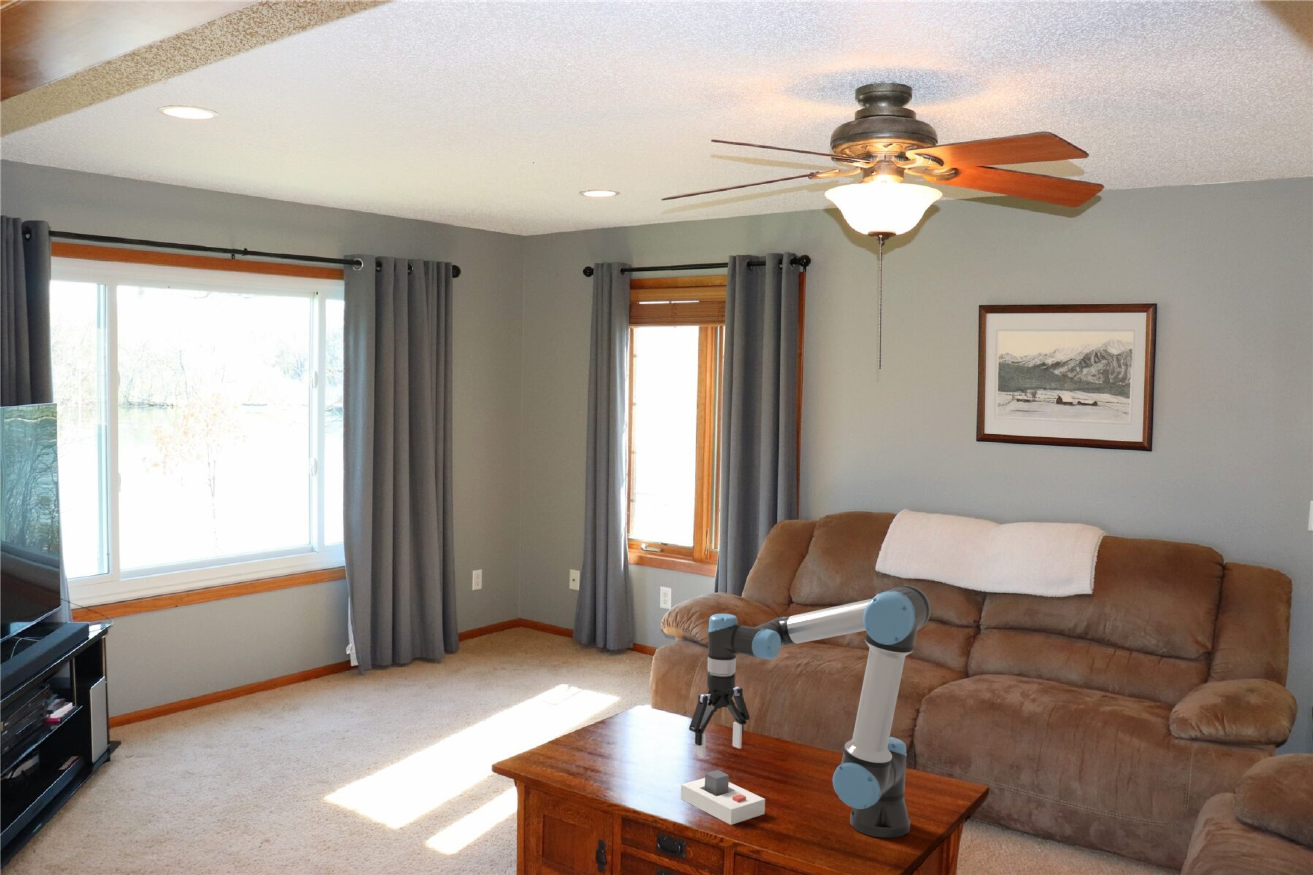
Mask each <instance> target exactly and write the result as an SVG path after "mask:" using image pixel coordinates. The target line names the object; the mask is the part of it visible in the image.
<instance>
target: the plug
mask: <svg viewBox="0 0 1313 875" xmlns="http://www.w3.org/2000/svg"><path fill="white" fill-rule="evenodd" d="M704 778H705V791H707V792H709V793H711V794H713V795H715V796H720V795H723V794H726V793H728V784H729V782H730V780H729V778H730V777H729V773H728V774H727V773H725V772H724V771H721V770H719V769H716V770H712V771H709V772H705V773H704Z"/></svg>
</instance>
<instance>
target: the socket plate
mask: <svg viewBox="0 0 1313 875" xmlns="http://www.w3.org/2000/svg"><path fill="white" fill-rule="evenodd" d="M680 799H681V800H682V801H684V802H686V803H687V804H690V805H692V806H694V807H695V808H697V809H699V810H701V811H703V812H705V813H708V814H709V815H711V816H713V817H715V818H717V819H719V820H720V821H723V822H724V823H726V824H728V825H731V826H732V825H734V824H737V823H741V822H744V821H747V820H750V819H752V818H753V819H754V818H756V817H759V816H762V815H765V812H766V811H765V810H766V806H765V805H766V798H763V797H762V796H760V795H757V794H756V793H753V792H751V791H749V790H747V789H746V788H742V787H740V786H738V785H736V784H734V783H732V782H730V781H729V784H728V793H726V794H723V795H720V796H715V795H713V794H711V793H709V792H707V791H705V777H703V778H700V779H696V780H695V779H694V780H693V781H689V782H685V783H681V786H680Z"/></svg>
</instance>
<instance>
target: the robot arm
mask: <svg viewBox="0 0 1313 875" xmlns="http://www.w3.org/2000/svg"><path fill="white" fill-rule="evenodd" d="M930 603H931V602H930V600H929V598H928V596H927V594H925V592H924V591H922V590H921V589H920V588H918V587H916V586H913V585H910V584H909V585H908V584H904V585H903V584H902V585H899V586H896V587H894V588H891V589H889V590H887V591H886V590H885V591H883V592H879V593H877V594H876V595H875V596H874V597H873V598H869V599H865V600H860V601H854V602H851V603H850V602H849V603H845V604H841V605H836V606H832V607H827V608H823V609H822V608H821V609H818V610H813V611H809V612H803V613H799V614H794V615H791V616H779V617H776V618H773V619H771V620H770V621H767V622H764V623H761V624H760V625H757V626H754V627H753V626H748V625H747V626H746V625H741V624H738V623H739V622H738V618H737V616H736V615H733V614H731V613H715V614H712V615H711V616H710V617H709V620H708V621H709V623H708V630H707V633H708V634H707V635H708V638H707V639H708V642H707V643H708V645H707V648H708V649H707V650H708V652H707V673H706V685H707V688H708V690H707V691H708V692H707V694H703V693H699V694H698V698H697V704H696V707H695V710H694V713H693V715H692V718H691V721H690V724H689V727H688V730H689V731H691V732H692V733H695V734H694V736H695V737H694V743H695V745H696V752H695V753H696V755H695V756H697V757H699V758H701V759H706V744H707V743H706V740H707V738H706V737H707V736H706V735H707V734H706V733H705V730H706V728H707V727H708V724H709V723H710V721H711V719H712V717H713V715H714V713H716V712H717V711H718V709H722V708H727V710H728V712H729V713H730V714H731V715H732V717H733V718H734V720H735V721H734V722H732V723H733V724H732V747H734V748H737V749H742V735H743V734H744V725H746V724H747V723H748V722H747V721H750V713H749V710H748V708H747V705H746V702H745V698H744V695H743V692H744V691H743V688H741V687H739V686H736V666H737V664H736V662H737V655H743V656H748V657H752V658H757V659H760V660H764V659H765V660H774V659H775V658H776V657H777V656H778V655H779V653H780V650H781V648H784V647H789V646H793V645H796V644H802V643H807V642H813V641H817V640H823V639H828V638H834V637H838V636H844V635H848V634H855V633H858V632H859V633H861V632H864V631H866V632H865V638H864V642H865V643H866V645H867V646H868V647H869V650H868V655H867V662H866V667H865V670H864V676H863V682H862V688H861V692H860V697H859V698H860V699H859V703H858V706H857V707H858V708H857V713H856V718H855V723H854V724H855V725H854V729H853V730H854V731H853V734H852V739H850V740H849V741H846V742H845V744H844V748H843V752H842V758H841V763H840V764H839V765H838V766H837V767H836V769H835V771H834V772H833V776H832V786H833V790H834V792H835V794H836V795H837V796H838V798H839V800H841V802H843V804H845V805H846V806H848V807H851V808H852V809H851V811H850V817H849V819H850V820H849V822H850V825H851V827H852V828H853V829H854V830H856V831H857V832H859V833H862V834H864V835H867V836H871V837H876V838H882V839H883V838H885V839H891V838H894V839H895V838H900V837H903V836H905V834H906V835H907V834H909V832H910V830H911V819H910V816H909V814H908V809H907V805H906V804H907V803H906V801H905V787H906V786H905V784H906V770H907V769H906V768H907V767H906V765H907V756H908V754H907V745H906V743H905V742H904V741H903V740H901V739H900V738H896V737H893V736H891V730H892V726H893V721H894V717H895V716H894V715H895V711H896V706H897V701H898V696H899V690H900V685H901V680H902V675H903V670H904V664H905V659H906V656H908V655H910V654H912V653H913V652H914V646H915V643H916V642H915V641H916V638H917V633H918V632H917V631H919V630H920V629H922V628H924V627H925V625H926V624H927V623H928V621H929V619H930V615H931V610H932V609H931V604H930ZM733 698H734V700H733Z"/></svg>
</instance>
